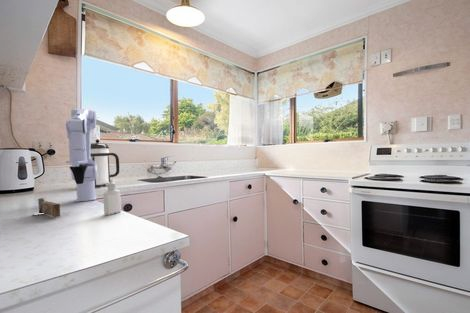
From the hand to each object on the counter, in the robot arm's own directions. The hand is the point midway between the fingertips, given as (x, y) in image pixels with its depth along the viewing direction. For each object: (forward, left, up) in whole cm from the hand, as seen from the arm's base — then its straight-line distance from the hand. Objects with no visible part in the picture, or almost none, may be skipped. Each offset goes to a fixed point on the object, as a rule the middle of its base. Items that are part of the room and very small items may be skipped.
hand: (79, 183), depth 96 cm
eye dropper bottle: (+18, +12, -10) cm, 24 cm away
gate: (+10, -8, -9) cm, 15 cm away
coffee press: (-64, +3, -10) cm, 65 cm away
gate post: (+4, -11, -9) cm, 15 cm away
